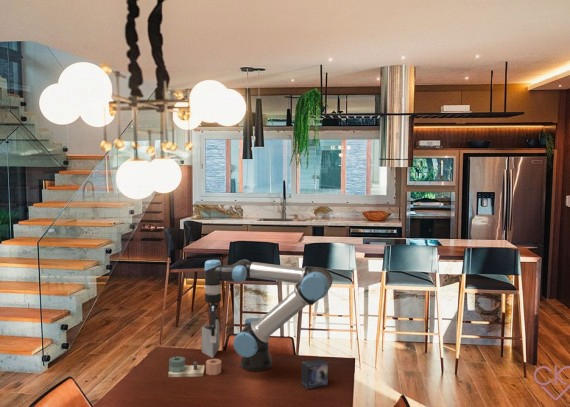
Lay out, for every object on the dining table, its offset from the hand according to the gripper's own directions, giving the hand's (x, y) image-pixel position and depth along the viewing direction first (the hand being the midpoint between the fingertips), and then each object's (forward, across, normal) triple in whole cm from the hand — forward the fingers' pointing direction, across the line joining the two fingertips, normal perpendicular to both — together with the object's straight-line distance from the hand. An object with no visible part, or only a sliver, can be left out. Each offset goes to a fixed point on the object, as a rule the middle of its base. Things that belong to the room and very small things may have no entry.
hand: (213, 337), depth 245 cm
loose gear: (+16, 0, 0) cm, 17 cm away
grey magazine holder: (+17, -27, -3) cm, 32 cm away
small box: (+18, +18, +45) cm, 52 cm away
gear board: (+16, 0, -13) cm, 21 cm away
